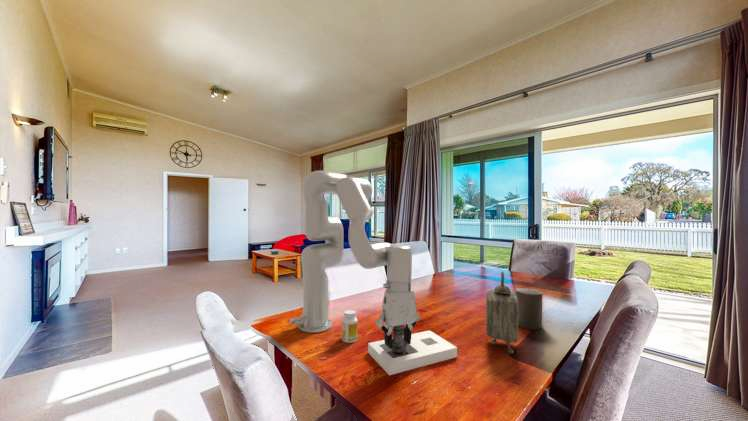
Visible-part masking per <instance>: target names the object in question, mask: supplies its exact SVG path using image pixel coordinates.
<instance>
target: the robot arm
mask: <svg viewBox="0 0 748 421" xmlns="http://www.w3.org/2000/svg"><path fill="white" fill-rule="evenodd" d="M302 187H303V188H302V191H303V197H304V203H305V204H304V205H305V207H304V209H305V212H304V214H305V215H304V217H305V219H304V220H305V222H304V223H305V224H304V226H305V227H304V230H305V236H306V238H307V239H308V240H309V241H311V242H319V241H320V242H321V241H325V242H324V243H317V244H316V243H315V244H311V245H308V246H306V247H305V248H304V249H302V252H301V254H300V261H301V268H302V275H303V276H302V278H303V280H302V281H303V283H302V284H303V285H302V287H303V289H302V290H303V291H302V296H303V297H302V299H303V300H302V313H301V314H300V316H298V317H294V318H290V319H289V324H290V325H294V326H298V329H299V330H300V331H302V332H304V333H309V334H312V333H322V332H325V331H328V330H329V329H331V328H332V326H333V321H332V320H331V319H329V277H328V275H327V272H326V271H325V269H326V268H330V267H331V268H332V267H335V266H338V265H340V263H342V261H343V258H344V226H343V222H342V221H341V220H340V219H339V218H338V217H337V216H334V215H333V216H331V215H330V216H329V215H328V213H329V212H328V211H329V207H328V202H327V200H326V198H325V196H324V195H326V194H327V195H337V196H338V199H339V202H340V203H341V206H342V207H343V210H344V212H345V214H346V217H347V218H348V220H349V226H348V236H347V237H348V244H349V245H348V246H349V247H350V250H351V252H352V254H353V256H354V259H355V260H356V262H357V263H358V264H359V266H361V268H363V269H365V270H366V269H367V270H371V269H375V268H379V267H384V266H386V281H385V283H382V284H383V285H382V286H383V288H384V289H385V290H384V294H383V297H382V305H381V307H382V308H381V314H380V315H379V317H378V318H377V320H376V321H375V326H377V327H378V328H379V329H380V330H381V331H382V332H383V333H384V340H385V344H386V345H387V346H388V347H389V348H392V338H393V335H392V332H393V330H392V329H393V328H394V327H395V326H401V325H403V326H405V327H403V329H404V332H403V339H404V340H406V341H407V342H408V344H411V334H412V331H413V330H414V327H415V325H416V324H417V322H418V321H419V320H420V319H421V316H420V314H419V313H418V312H417V303H416V296H415V291H414V289H412V276H413V275H412V273H413V272H412V271H413V270H412V269H413V268H412V265H413V257H412V256H413V250H412V248H411V247H410V246H409V245H406V244H405V245H404V244H393V243H390V242H386V241H383V242H374V243H371V242H370V240H369V238H368V235H367V233H366V229H365V228H366V227H365V225H366V222H368V221H369V220H371V218H372V217H373V215H374V214H373V213H374V211H373V209H372V206H371V205H370V203H369V201H368V200H369V199H371V197H372V194H373V188H372V184H371V183H370V181H368V180H367V179H365V178H362V177H357V176H353V175H350V174H346V173H343V172H342V173H340V172H336V171H335V172H334V171H329V170H314V171H311V172H310V173H308V175H307V176H306V178H305V179H304V182H303V186H302ZM383 323H384V325H383Z"/></svg>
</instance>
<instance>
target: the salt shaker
mask: <svg viewBox="0 0 748 421" xmlns="http://www.w3.org/2000/svg"><path fill="white" fill-rule="evenodd" d="M392 332H393V333H392V334H393V335H392V338H393V339H392V348H391V349H392V350H391V351H390V352H388V354H389V355H390V356H391V357H392V358H397V357H401V356H405V355H407V352H406V351H405V349H406V347H407V344H408V342H407V341H406V340H404V339H403V336H404V325H401V326H395V327H393V328H392Z"/></svg>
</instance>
